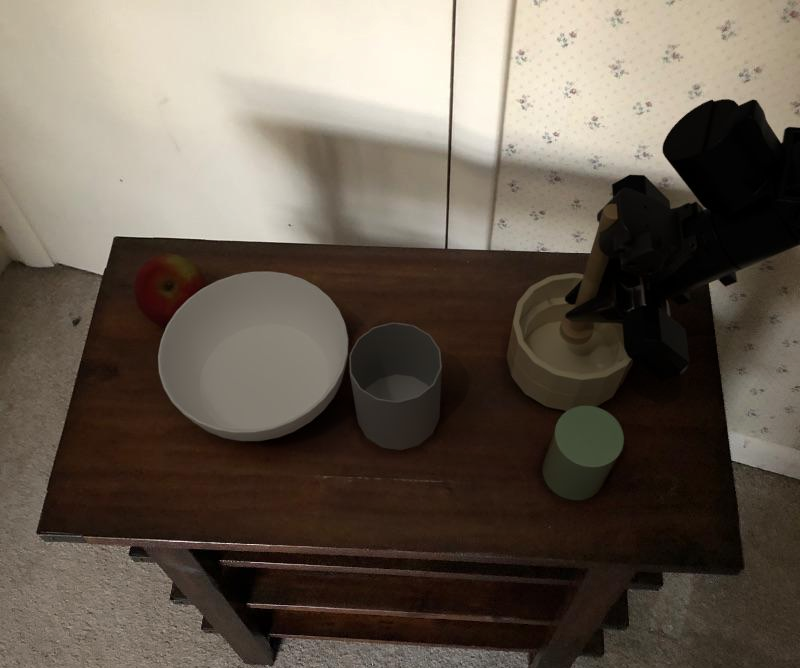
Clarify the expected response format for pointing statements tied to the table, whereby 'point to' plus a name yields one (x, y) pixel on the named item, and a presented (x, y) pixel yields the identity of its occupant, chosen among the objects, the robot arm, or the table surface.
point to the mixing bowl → (563, 350)
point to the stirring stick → (589, 283)
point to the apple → (166, 286)
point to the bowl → (254, 355)
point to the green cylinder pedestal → (582, 452)
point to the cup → (396, 385)
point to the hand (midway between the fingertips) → (567, 309)
